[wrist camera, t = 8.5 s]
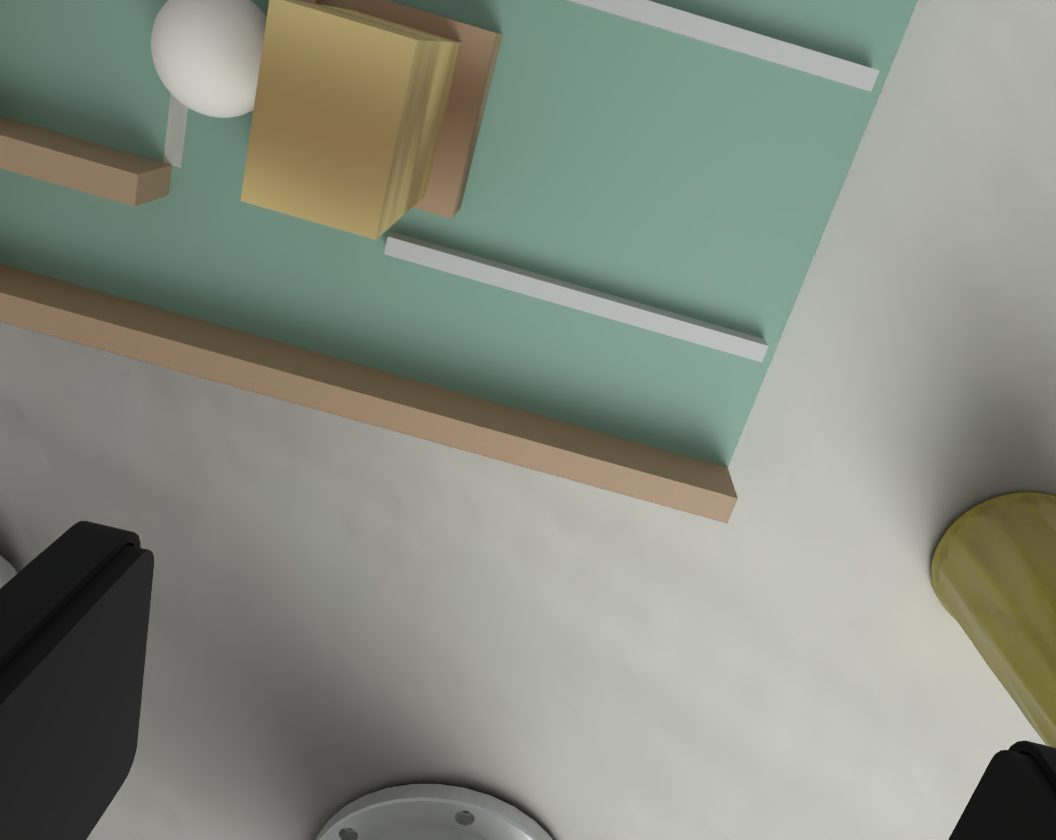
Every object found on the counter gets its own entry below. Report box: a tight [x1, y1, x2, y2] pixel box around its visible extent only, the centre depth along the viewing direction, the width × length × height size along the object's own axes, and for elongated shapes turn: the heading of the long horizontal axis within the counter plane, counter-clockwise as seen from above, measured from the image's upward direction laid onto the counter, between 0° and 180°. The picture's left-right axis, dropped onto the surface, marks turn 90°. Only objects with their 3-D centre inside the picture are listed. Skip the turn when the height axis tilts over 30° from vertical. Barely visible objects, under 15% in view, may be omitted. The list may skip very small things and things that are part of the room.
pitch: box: [0, 0, 918, 523], centre depth 28 cm, size 20×28×4 cm
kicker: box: [240, 0, 503, 240], centre depth 24 cm, size 7×6×9 cm
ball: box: [151, 0, 267, 118], centre depth 26 cm, size 4×4×4 cm
